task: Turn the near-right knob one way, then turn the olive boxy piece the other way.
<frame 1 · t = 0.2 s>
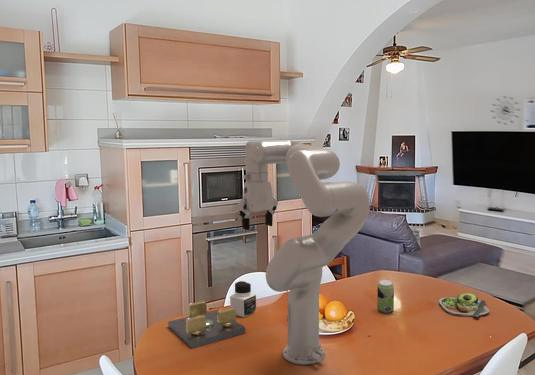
hand: (257, 227, 157), 36 cm above the table, tool pointing down, fingers open, 9 cm apart
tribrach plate: (206, 330, 160), on the table
beverage can: (385, 311, 175), on the table
salad plate: (463, 309, 177), on the table
knob b: (195, 324, 152), point 5 cm above the table, hinge at 0.0°
medicine bottle: (243, 313, 175), on the table
olive boxy piece: (197, 309, 166), point 5 cm above the table, hinge at 0.0°
knob a: (226, 316, 159), point 5 cm above the table, hinge at 0.0°
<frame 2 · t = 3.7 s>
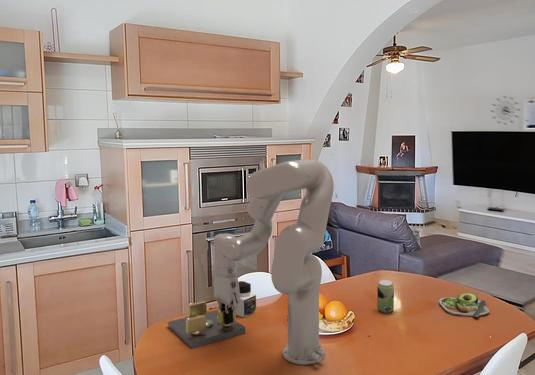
hand: (226, 321, 159), 3 cm above the table, tool pointing down, fingers closed on knob a, 2 cm apart
knob a: (226, 316, 159), point 5 cm above the table, hinge at 0.3°, touching gripper
everything else where it was.
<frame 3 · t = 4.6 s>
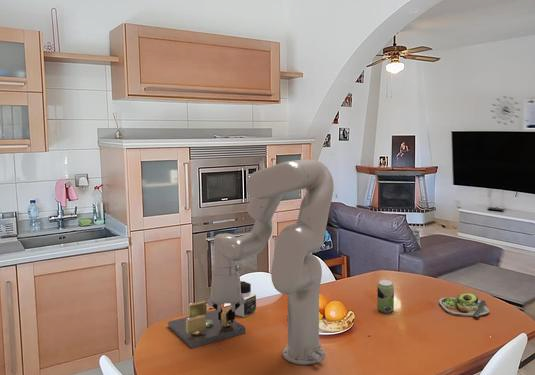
hand: (226, 321, 159), 4 cm above the table, tool pointing down, fingers open, 3 cm apart
knob a: (226, 316, 159), point 5 cm above the table, hinge at 43.0°
everything else where it was.
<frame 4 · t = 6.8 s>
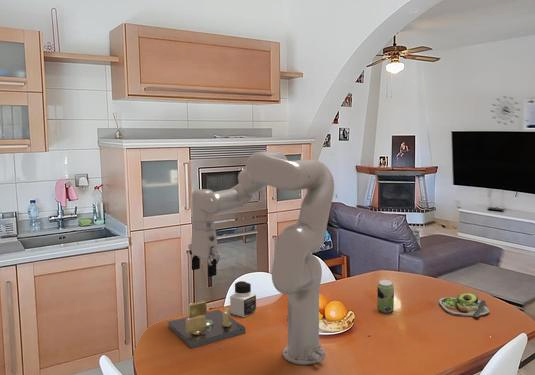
hand: (203, 272, 162), 19 cm above the table, tool pointing down, fingers open, 9 cm apart
knob a: (226, 316, 159), point 5 cm above the table, hinge at 55.5°
everything else where it was.
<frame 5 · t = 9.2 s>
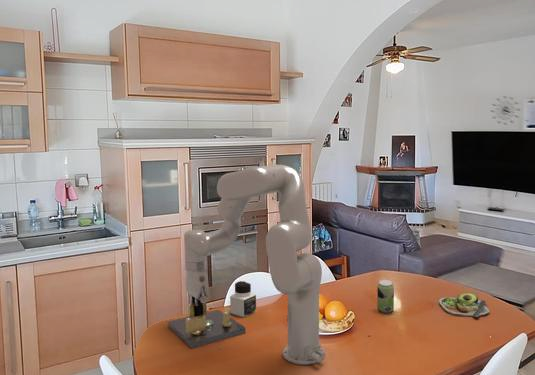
hand: (197, 314, 166), 3 cm above the table, tool pointing down, fingers closed on olive boxy piece, 2 cm apart
olive boxy piece: (197, 309, 166), point 5 cm above the table, hinge at 0.0°, touching gripper
knob a: (226, 316, 159), point 5 cm above the table, hinge at 57.2°
everything else where it was.
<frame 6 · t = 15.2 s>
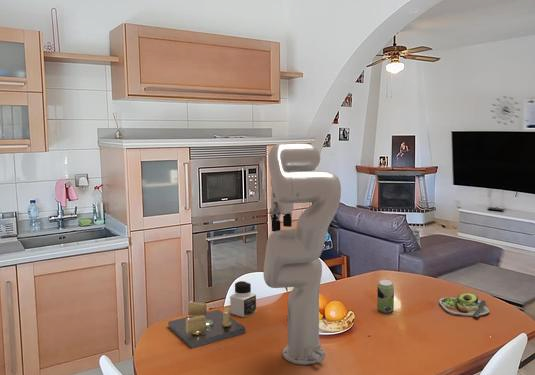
hand: (281, 228, 167), 33 cm above the table, tool pointing down, fingers open, 9 cm apart
olive boxy piece: (197, 309, 166), point 5 cm above the table, hinge at -53.4°
everything else where it was.
at the end: knob a at +58° (first picture: +0°); olive boxy piece at -54° (first picture: +0°); knob b at +0° (first picture: +0°) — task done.
